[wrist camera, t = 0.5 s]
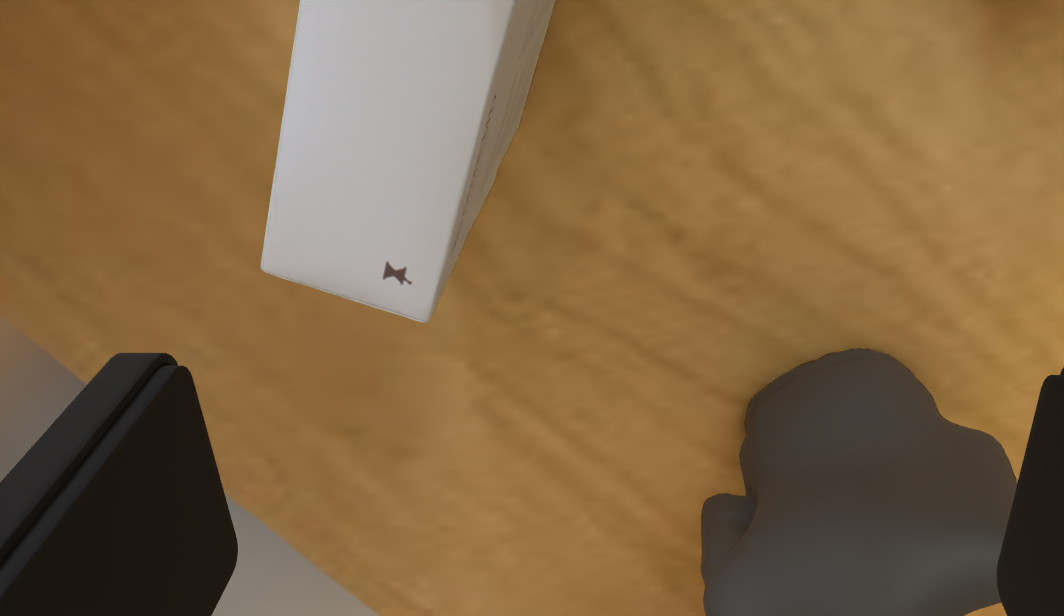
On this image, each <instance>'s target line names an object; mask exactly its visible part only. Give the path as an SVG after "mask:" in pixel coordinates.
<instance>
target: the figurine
mask: <svg viewBox="0 0 1064 616" xmlns="http://www.w3.org/2000/svg"><path fill="white" fill-rule="evenodd" d="M745 432H746V435H745V438H744V440H743V443H742V445H741V449H740V454H739V457H740V465H741V470H742V475H743V480H744V485H745V490H746V496H737V495H731V494H728V493H727V494H717V495H714V496H712V497H710V498H708V499H706V500H705V502H704V504H703V508H702V514H701V540H702V556H701V574H702V577H703V580H704V583H705V590H704V596H703V602H704V609H705V614H706V616H964V615H966V614H968V613H970V612H973V611H975V610H978V609H981V608H984V607H988V606H991V605H994V604H997V603H1001V599H1000V596H999V592H998V587H997V565H998V560H999V556H1000V552H1001V548H1002V544H1003V540H1004V536H1005V532H1006V528H1007V524H1008V520H1009V516H1010V512H1011V508H1012V504H1013V500H1014V496H1015V492H1016V488H1017V481H1016V477H1015V475H1014V473H1013V469H1012V467H1011V464H1010V461H1009V459H1008V457H1007V455H1006V453H1005V451H1004V449H1003V447H1002V446H1001V444H1000V443H999V442H998V441H997V440H996V439H995V438H994V437H993V436H991V435H990V434H987V433H985V432H982V431H979V430H975V429H970V428H967V427H963V426H960V425H957V424H954V423H952V422H950V421H948V420H946V419H945V418H943V417H942V416H941V415H940V413H939V411H938V409H937V407H936V404H935V402H934V399H933V397H932V395H931V394H930V392H929V391H928V390H927V389H926V388H925V386H924V385H923V384H922V383H921V382H920V381H919V380H918V379H917V378H916V377H915V376H914V375H913V373H912V372H911V371H910V370H909V369H908V368H907V367H905V366H904V365H903V364H902V363H900V362H899V361H897V360H896V359H895V358H893V357H891V356H890V355H888V354H884V353H879V352H876V351H871V350H869V349H866V350H864V349H851V350H847V351H843V352H838V353H830V354H827V355H825V356H823V357H822V358H820V359H818V360H816V361H811V362H808V363H805V364H802V365H800V366H798V367H796V368H794V369H793V370H791V371H789V372H788V373H786V374H784V375H783V376H781V377H779V378H777V379H776V380H774V381H773V382H772V383H770V384H769V385H767V386H766V387H765V388H764V389H762V390H761V391H760V392H758V393H757V394H756V395H755V396H754V397H753V398H752V399H751V400H750V403H749V406H748V408H747V413H746V418H745Z"/></svg>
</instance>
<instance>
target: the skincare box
mask: <svg viewBox="0 0 1064 616" xmlns="http://www.w3.org/2000/svg"><path fill="white" fill-rule="evenodd" d="M554 3H555V0H300V3H299V10H298V17H297V23H296V30H295V37H294V44H293V51H292V57H291V64H290V71H289V78H288V84H287V91H286V98H285V105H284V112H283V118H282V125H281V132H280V139H279V146H278V152H277V159H276V166H275V172H274V179H273V186H272V192H271V199H270V206H269V212H268V219H267V226H266V232H265V239H264V246H263V252H262V259H261V265H260V268H261V270H263V271H264V272H266V273H268V274H271V275H274V276H277V277H280V278H283V279H286V280H289V281H292V282H295V283H298V284H302V285H305V286H309V287H312V288H315V289H318V290H321V291H324V292H328V293H331V294H334V295H337V296H340V297H343V298H346V299H349V300H353V301H356V302H359V303H362V304H365V305H368V306H371V307H375V308H378V309H381V310H384V311H388V312H391V313H394V314H397V315H400V316H404V317H407V318H410V319H413V320H415V321H419V322H423V323H427V322H429V320H430V319H431V317H432V315H433V312H434V310H435V308H436V305H437V303H438V301H439V299H440V297H441V295H442V292H443V290H444V288H445V286H446V283H447V281H448V279H449V277H450V274H451V272H452V270H453V268H454V265H455V263H456V261H457V258H458V256H459V254H460V252H461V249H462V247H463V245H464V242H465V240H466V238H467V235H468V233H469V231H470V228H471V227H472V226H473V224H474V222H475V220H476V218H477V216H478V214H479V212H480V210H481V208H482V205H483V203H484V201H485V199H486V197H487V195H488V193H489V192H490V189H491V187H492V185H493V183H494V180H495V177H496V173H497V170H498V167H499V165H500V163H501V161H502V159H503V157H504V155H505V153H506V151H507V149H508V147H509V145H510V143H511V141H512V139H513V136H514V134H515V132H516V130H517V128H518V126H519V124H520V120H521V117H522V113H523V110H524V106H525V103H526V99H527V96H528V92H529V89H530V85H531V82H532V78H533V75H534V71H535V68H536V65H537V61H538V58H539V55H540V51H541V48H542V45H543V41H544V38H545V35H546V31H547V28H548V24H549V21H550V17H551V14H552V11H553V7H554Z"/></svg>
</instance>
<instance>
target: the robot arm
mask: <svg viewBox="0 0 1064 616" xmlns="http://www.w3.org/2000/svg"><path fill="white" fill-rule="evenodd" d="M237 554H238V544H237V538H236V534H235V531H234V527H233V524H232V520H231V516H230V513H229V509H228V505H227V501H226V498H225V494H224V490H223V487H222V483H221V479H220V476H219V472H218V469H217V465H216V461H215V458H214V454H213V450H212V447H211V443H210V439H209V436H208V432H207V428H206V425H205V421H204V417H203V414H202V410H201V407H200V403H199V399H198V396H197V392H196V388H195V385H194V381H193V378H192V375H191V372H190V371H189V370H188V368H187V367H184V366H178V364H177V362H176V360H175V359H174V358H173V357H172V356H171V355H169V354H167V353H119V354H116V355H115V356H113V357H112V358H111V359H110V360H109V361H108V362H107V363H106V364H105V366H104V367H103V368H102V369H101V370H100V371H99V372H98V373H97V375H96V376H95V377H94V378H93V379H92V380H91V381H90V382H89V384H88V385H87V386H86V387H85V388H84V389H83V390H82V391H81V393H80V394H79V395H78V396H77V397H76V398H75V399H74V401H72V403H71V404H70V405H69V406H68V407H67V408H66V409H65V411H64V412H63V413H62V414H61V415H60V416H59V417H58V418H57V419H56V421H55V422H54V423H53V424H52V425H51V426H50V427H49V428H48V430H47V431H46V432H45V433H44V434H43V435H42V436H41V437H40V439H39V440H38V441H37V442H36V443H35V444H34V445H33V446H32V448H31V449H30V450H29V451H28V452H27V453H26V454H25V455H24V457H23V458H22V459H21V460H20V461H19V462H18V463H17V464H16V466H15V467H14V468H13V469H12V470H11V471H10V472H9V474H8V475H7V476H6V477H5V478H4V479H3V480H2V481H1V482H0V616H211V615H212V613H213V611H214V609H215V607H216V605H217V603H218V601H219V600H220V597H221V595H222V594H223V591H224V590H225V588H226V586H227V584H228V582H229V580H230V578H231V576H232V574H233V571H234V569H235V566H236V561H237ZM997 587H998V592H999V596H1000V599H1001V602H1002V604H1003V607H1004V609H1005V611H1006V614H1007V616H1064V368H1063V369H1062V371H1061V374H1060V375H1050V376H1048V377H1047V378H1046V379H1045V380H1044V382H1043V385H1042V388H1041V391H1040V395H1039V399H1038V403H1037V407H1036V411H1035V415H1034V419H1033V423H1032V427H1031V431H1030V435H1029V439H1028V443H1027V448H1026V452H1025V456H1024V460H1023V464H1022V468H1021V472H1020V476H1019V480H1018V484H1017V488H1016V492H1015V496H1014V500H1013V504H1012V508H1011V512H1010V516H1009V520H1008V524H1007V528H1006V532H1005V536H1004V540H1003V544H1002V548H1001V552H1000V556H999V560H998V565H997Z"/></svg>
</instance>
